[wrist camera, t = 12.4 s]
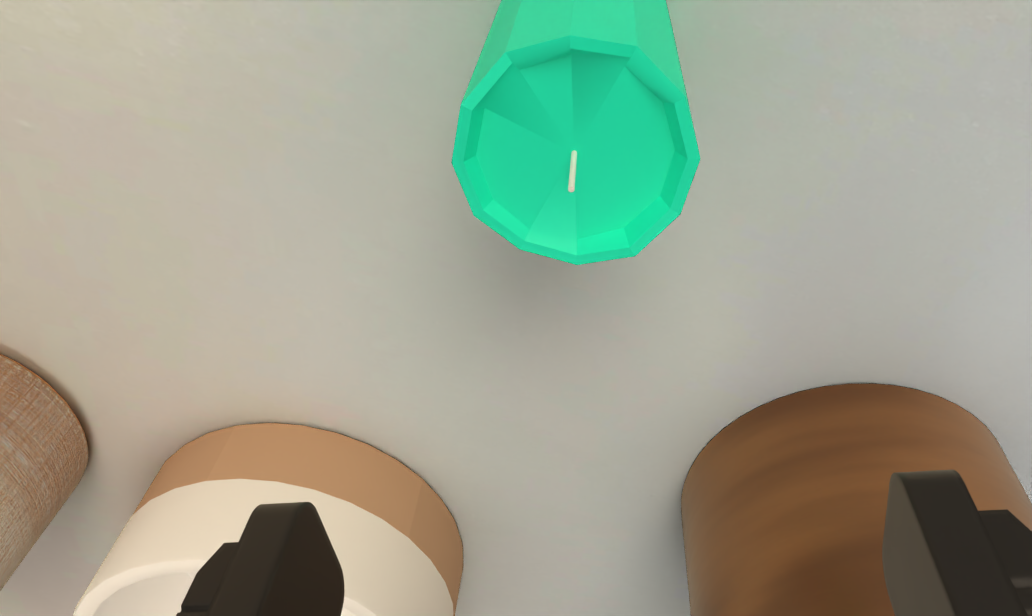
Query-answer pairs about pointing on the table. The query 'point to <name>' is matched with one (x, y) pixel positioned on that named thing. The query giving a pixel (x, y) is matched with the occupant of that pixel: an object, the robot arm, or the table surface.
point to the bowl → (285, 479)
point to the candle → (577, 128)
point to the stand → (823, 497)
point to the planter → (33, 460)
